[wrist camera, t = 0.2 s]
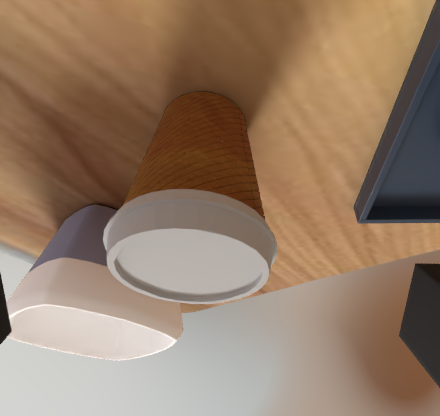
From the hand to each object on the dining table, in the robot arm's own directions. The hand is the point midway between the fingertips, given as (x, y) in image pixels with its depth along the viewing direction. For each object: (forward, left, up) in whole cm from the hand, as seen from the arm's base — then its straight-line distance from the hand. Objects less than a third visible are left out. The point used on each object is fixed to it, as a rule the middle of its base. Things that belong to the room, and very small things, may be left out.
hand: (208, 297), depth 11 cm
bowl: (+23, -10, -16) cm, 30 cm away
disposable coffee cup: (+6, -1, -16) cm, 17 cm away
